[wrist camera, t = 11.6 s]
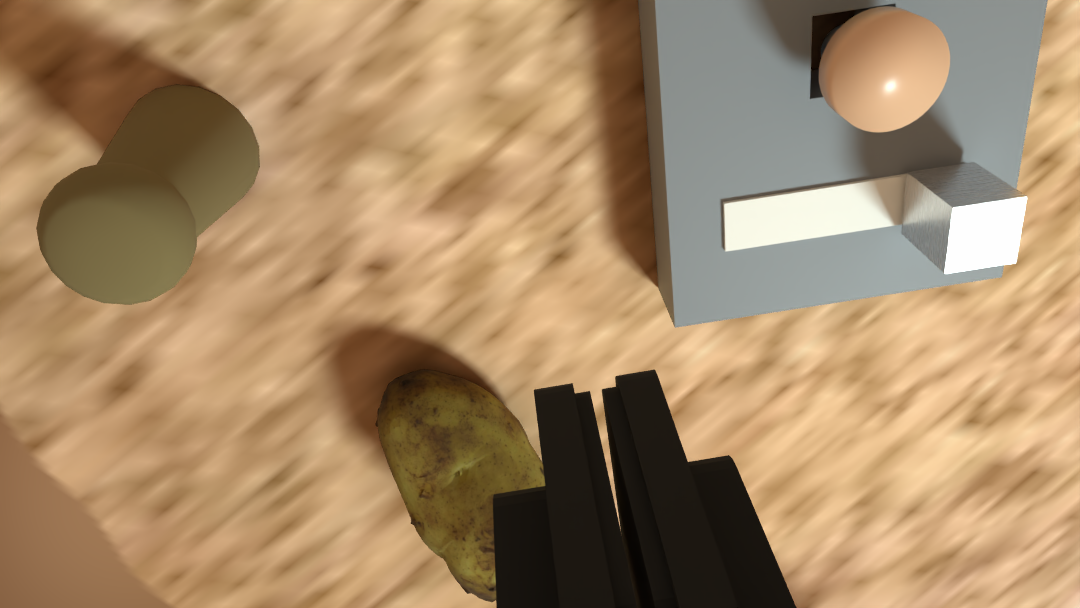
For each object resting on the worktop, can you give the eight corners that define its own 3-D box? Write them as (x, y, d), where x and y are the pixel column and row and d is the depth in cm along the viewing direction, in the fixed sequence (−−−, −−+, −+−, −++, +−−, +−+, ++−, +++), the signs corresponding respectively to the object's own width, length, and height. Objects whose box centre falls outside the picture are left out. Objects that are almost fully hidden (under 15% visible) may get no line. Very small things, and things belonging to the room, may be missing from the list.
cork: (198, 234, 40) (115, 359, 31) (93, 140, 38) (-33, 244, 28) (287, 159, 39) (229, 266, 29) (185, 56, 36) (85, 136, 27)
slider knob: (906, 172, 37) (952, 207, 33) (974, 161, 37) (1027, 196, 33) (901, 233, 38) (944, 273, 35) (965, 223, 38) (1015, 262, 35)
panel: (624, -197, 33) (643, -200, 29) (1025, -258, 33) (1095, -269, 29) (658, 288, 44) (675, 329, 40) (959, 241, 44) (1004, 278, 40)
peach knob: (793, 1, 34) (835, 23, 30) (900, -15, 34) (956, 5, 30) (791, 106, 36) (831, 140, 32) (891, 91, 36) (943, 122, 32)
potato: (519, 328, 44) (529, 421, 37) (569, 502, 51) (585, 609, 44) (369, 363, 45) (351, 461, 38) (437, 532, 51) (432, 642, 44)
